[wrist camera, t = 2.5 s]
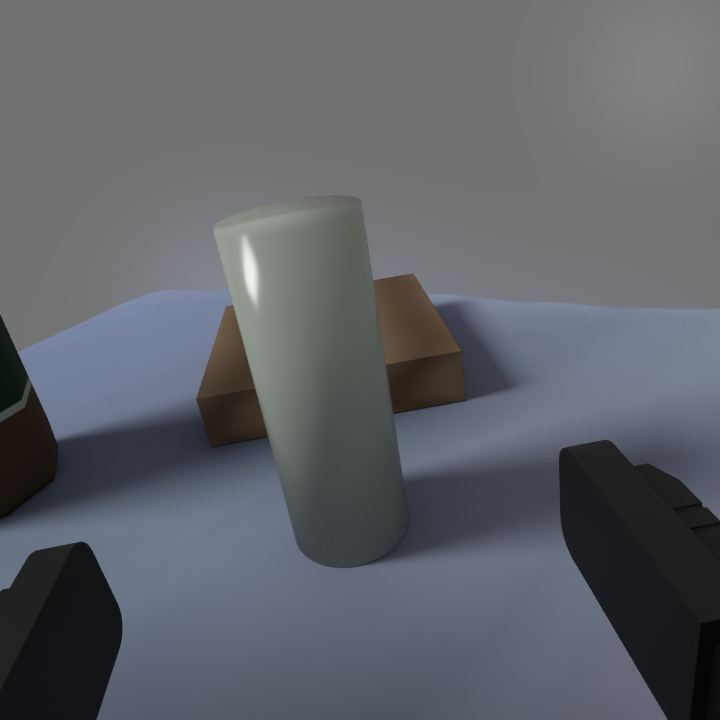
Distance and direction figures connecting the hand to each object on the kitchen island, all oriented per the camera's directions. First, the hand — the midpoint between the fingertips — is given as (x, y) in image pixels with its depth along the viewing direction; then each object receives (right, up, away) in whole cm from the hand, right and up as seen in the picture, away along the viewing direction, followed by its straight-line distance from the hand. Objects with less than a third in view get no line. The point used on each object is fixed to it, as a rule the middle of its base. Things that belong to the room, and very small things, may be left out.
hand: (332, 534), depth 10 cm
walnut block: (-1, +3, +28) cm, 28 cm away
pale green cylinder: (0, -4, +14) cm, 15 cm away
